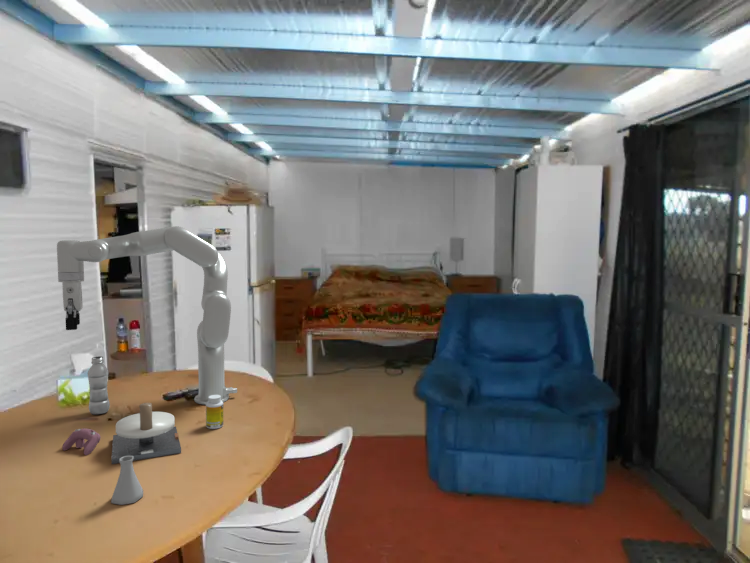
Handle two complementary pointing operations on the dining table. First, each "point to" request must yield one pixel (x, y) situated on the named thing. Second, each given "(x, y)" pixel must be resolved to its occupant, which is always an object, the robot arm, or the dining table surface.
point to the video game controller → (82, 440)
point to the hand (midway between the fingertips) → (73, 327)
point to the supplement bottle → (214, 412)
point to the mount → (146, 446)
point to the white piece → (145, 423)
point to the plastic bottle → (98, 386)
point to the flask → (127, 484)
